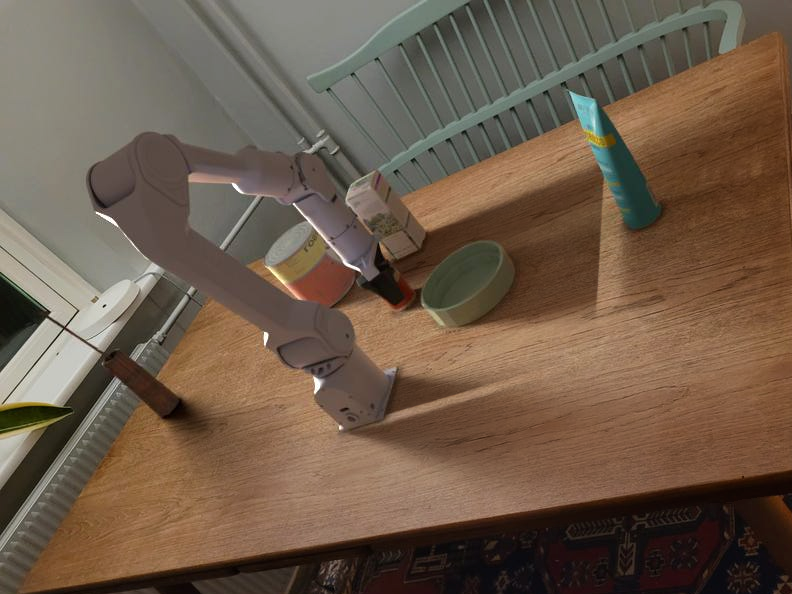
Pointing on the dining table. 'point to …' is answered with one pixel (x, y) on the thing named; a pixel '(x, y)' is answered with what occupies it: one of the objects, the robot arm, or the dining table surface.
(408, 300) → the tin can
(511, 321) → the dining table surface
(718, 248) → the dining table surface
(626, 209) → the tube
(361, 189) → the syrup box
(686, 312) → the dining table surface
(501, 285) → the bowl
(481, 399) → the dining table surface
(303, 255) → the canned food
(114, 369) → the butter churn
